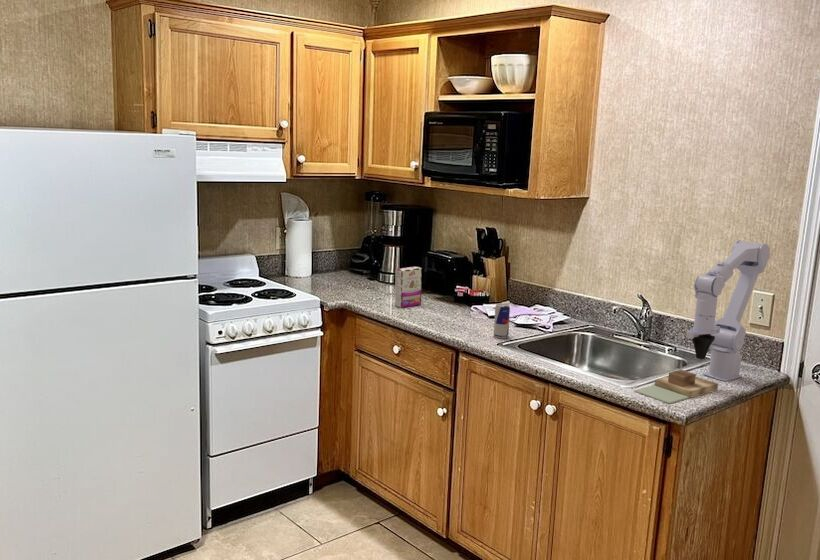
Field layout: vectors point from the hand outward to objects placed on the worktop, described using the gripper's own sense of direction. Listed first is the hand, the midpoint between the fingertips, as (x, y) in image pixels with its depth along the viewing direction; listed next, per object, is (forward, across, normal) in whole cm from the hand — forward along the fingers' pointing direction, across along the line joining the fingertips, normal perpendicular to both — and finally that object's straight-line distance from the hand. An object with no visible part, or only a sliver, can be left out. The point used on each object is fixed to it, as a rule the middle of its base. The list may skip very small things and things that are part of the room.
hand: (700, 358), depth 226 cm
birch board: (+8, -6, 0) cm, 10 cm away
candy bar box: (+9, -17, +129) cm, 130 cm away
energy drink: (+9, -16, +71) cm, 73 cm away
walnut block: (+6, -8, 0) cm, 11 cm away
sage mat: (+8, -18, 0) cm, 20 cm away
